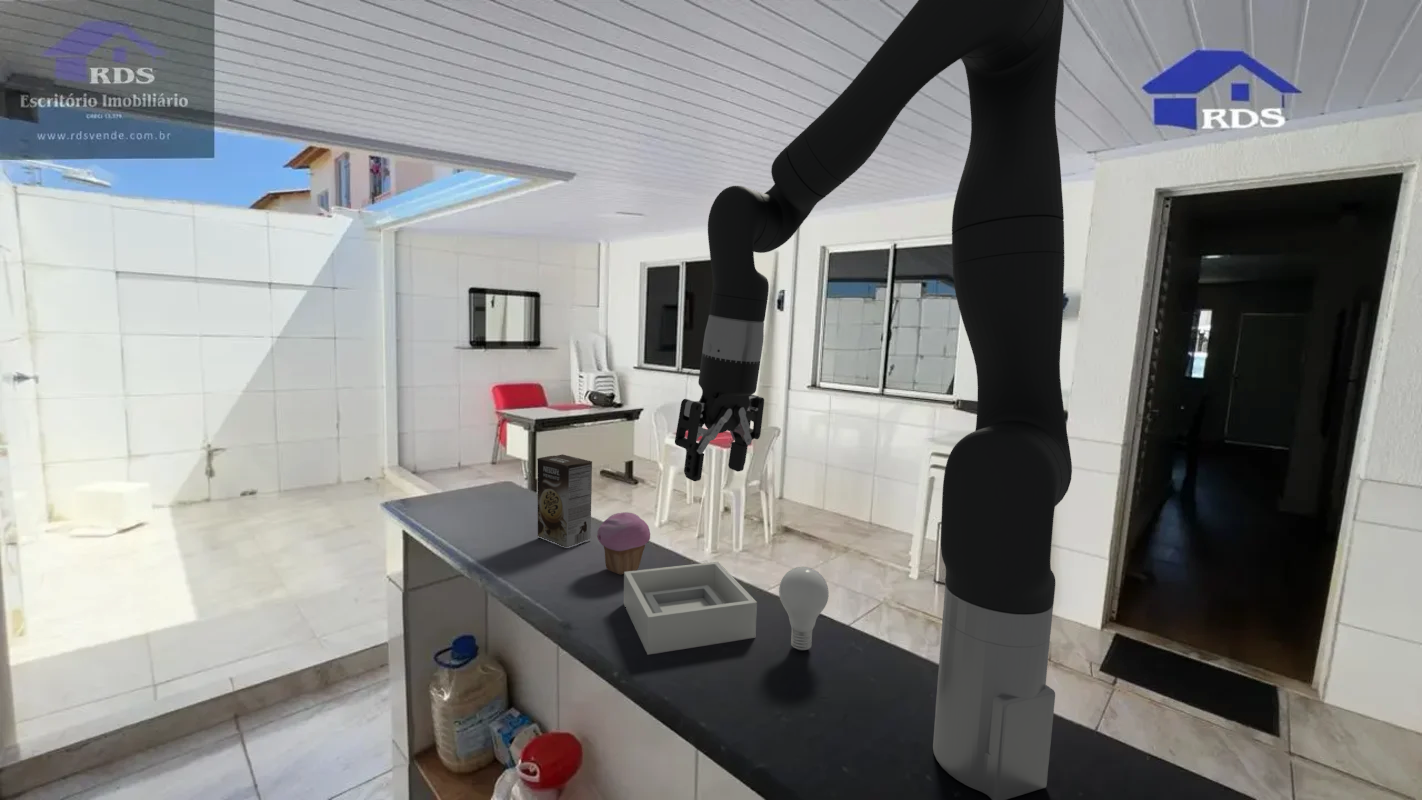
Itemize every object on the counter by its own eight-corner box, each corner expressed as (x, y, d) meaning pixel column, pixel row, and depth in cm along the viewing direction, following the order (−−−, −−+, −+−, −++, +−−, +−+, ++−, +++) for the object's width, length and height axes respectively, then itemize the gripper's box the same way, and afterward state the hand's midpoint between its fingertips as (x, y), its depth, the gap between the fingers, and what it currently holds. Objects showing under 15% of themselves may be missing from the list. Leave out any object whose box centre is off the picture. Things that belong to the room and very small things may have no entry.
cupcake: (633, 557, 108) (634, 503, 107) (658, 573, 101) (660, 516, 100) (588, 568, 103) (588, 511, 102) (612, 585, 96) (613, 525, 95)
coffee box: (535, 539, 116) (535, 457, 115) (562, 530, 122) (562, 453, 120) (566, 550, 111) (566, 465, 109) (592, 541, 116) (593, 459, 114)
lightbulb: (825, 665, 74) (829, 580, 73) (774, 658, 76) (778, 575, 74) (825, 640, 81) (830, 562, 79) (778, 634, 82) (782, 557, 81)
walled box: (755, 637, 81) (756, 602, 80) (647, 654, 76) (648, 617, 75) (717, 591, 95) (717, 561, 94) (623, 603, 90) (624, 571, 89)
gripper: (716, 359, 68) (698, 493, 71) (787, 358, 79) (769, 474, 82) (671, 348, 73) (656, 473, 76) (744, 348, 84) (728, 458, 87)
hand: (715, 474), depth 79 cm, fingers open, 8 cm apart
